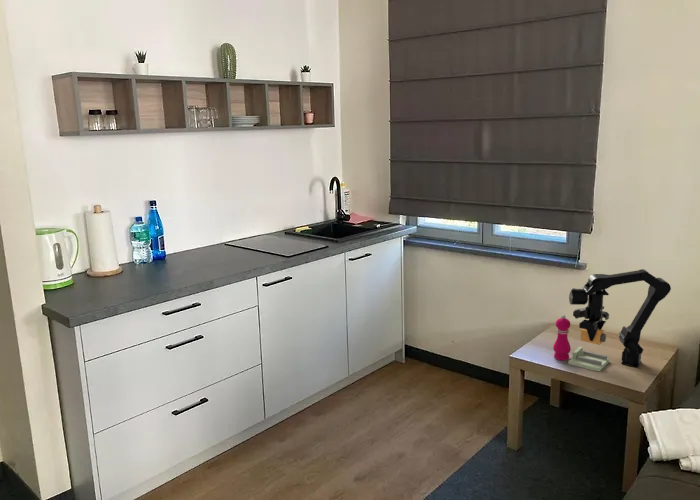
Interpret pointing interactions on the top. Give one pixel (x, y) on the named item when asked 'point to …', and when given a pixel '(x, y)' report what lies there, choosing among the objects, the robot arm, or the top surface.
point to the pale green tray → (588, 359)
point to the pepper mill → (562, 339)
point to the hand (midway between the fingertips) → (593, 339)
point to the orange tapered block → (597, 339)
